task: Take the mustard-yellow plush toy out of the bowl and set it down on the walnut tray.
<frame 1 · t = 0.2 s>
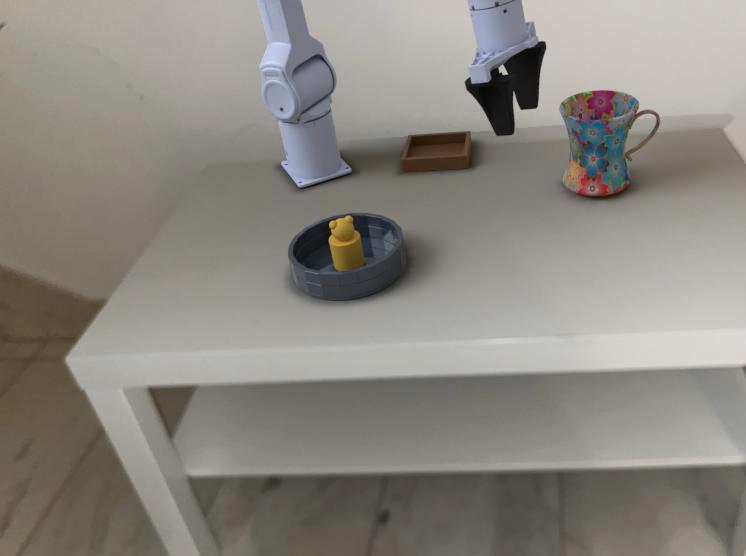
hand: (517, 121, 91), 11 cm above the table, tool pointing down, fingers open, 7 cm apart
bowl: (350, 267, 90), on the table
toy: (349, 263, 89), resting on bowl
mug: (607, 185, 98), on the table
tray: (437, 157, 110), on the table
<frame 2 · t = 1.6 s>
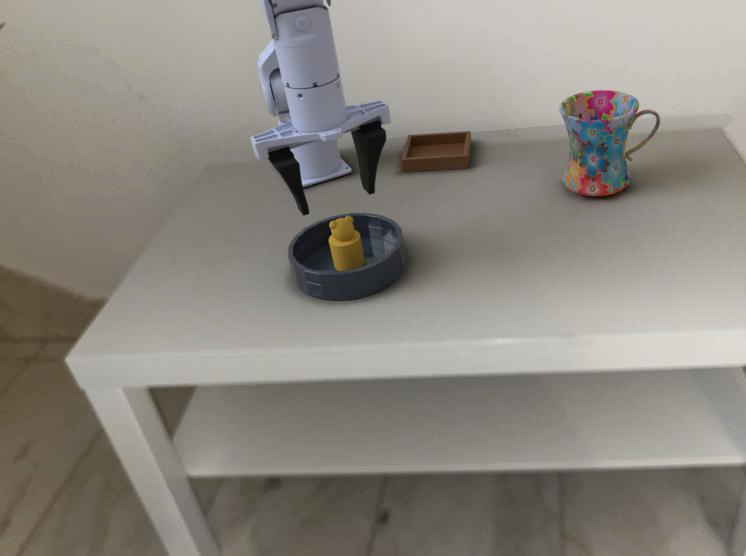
hand: (336, 200, 84), 9 cm above the table, tool pointing down, fingers open, 7 cm apart
nothing on the table moved.
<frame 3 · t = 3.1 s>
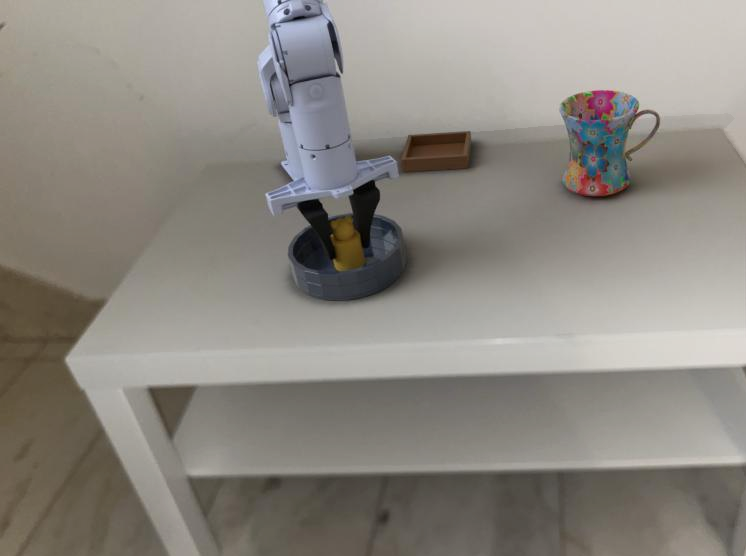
hand: (346, 250, 88), 2 cm above the table, tool pointing down, fingers closed on toy, 3 cm apart
toy: (350, 263, 89), point 1 cm above the table, touching gripper, bowl
everything else where it was.
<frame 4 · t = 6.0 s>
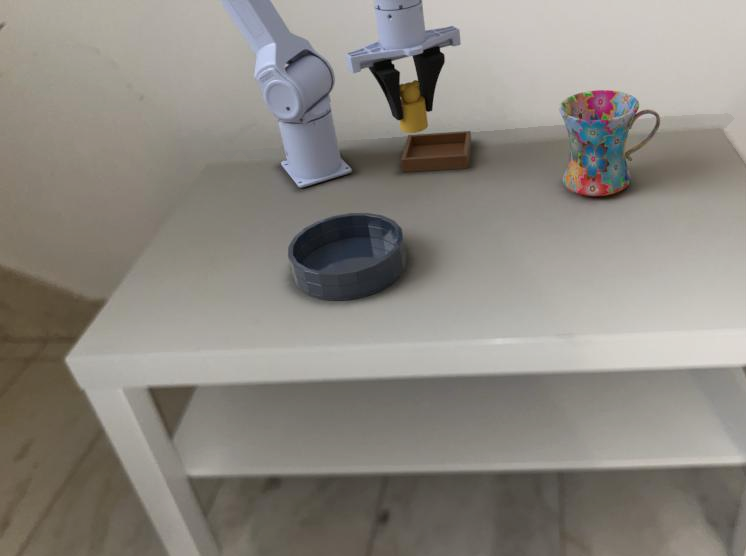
hand: (412, 113, 99), 9 cm above the table, tool pointing down, fingers closed on toy, 3 cm apart
toy: (414, 127, 100), point 8 cm above the table, touching gripper
everything else where it was.
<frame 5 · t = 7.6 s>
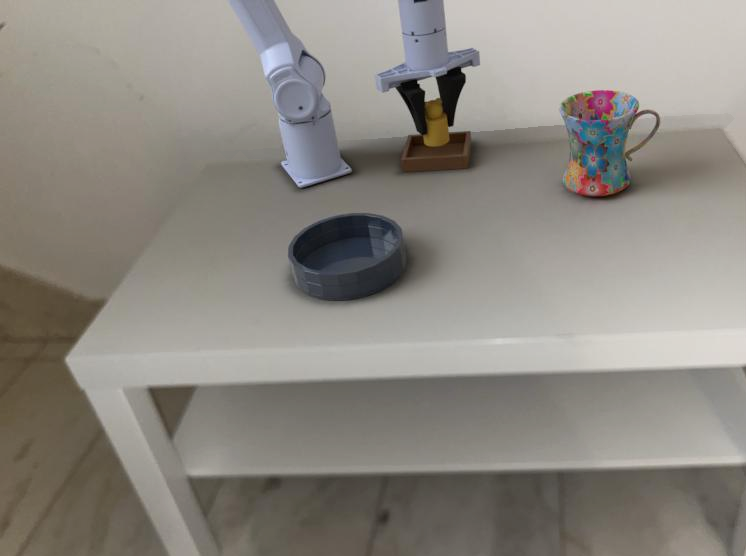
hand: (434, 128, 107), 4 cm above the table, tool pointing down, fingers closed on toy, 3 cm apart
toy: (436, 141, 108), point 2 cm above the table, touching gripper
everything else where it was.
when the fingers open (2 cm above the table, at t = 8.7 s): toy stays where it is, resting on tray.
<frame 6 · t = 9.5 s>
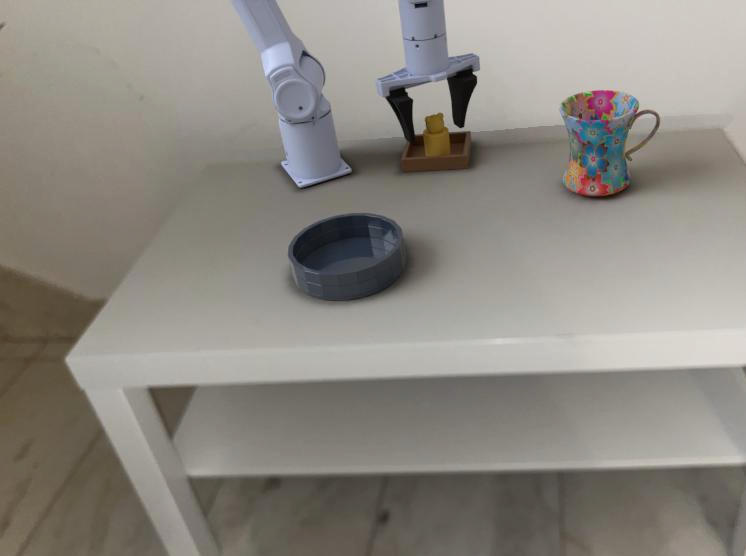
hand: (434, 132, 108), 4 cm above the table, tool pointing down, fingers open, 7 cm apart
toy: (438, 154, 110), resting on tray
everything else where it was.
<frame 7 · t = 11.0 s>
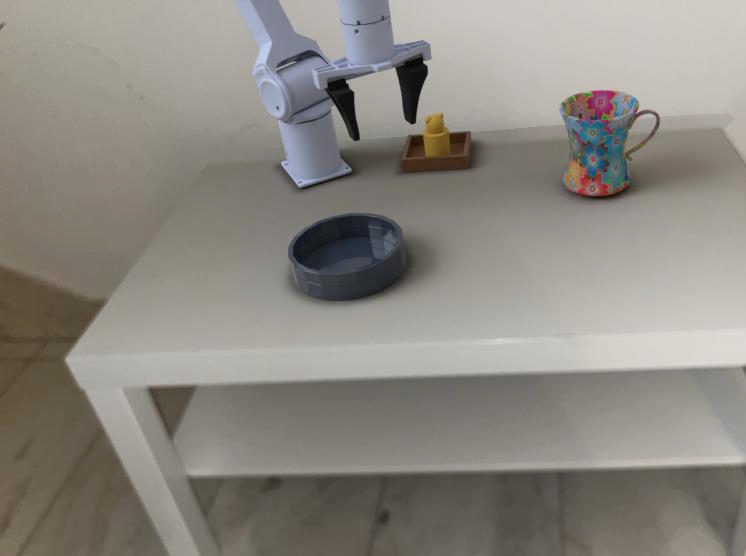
hand: (382, 129, 96), 9 cm above the table, tool pointing down, fingers open, 7 cm apart
nothing on the table moved.
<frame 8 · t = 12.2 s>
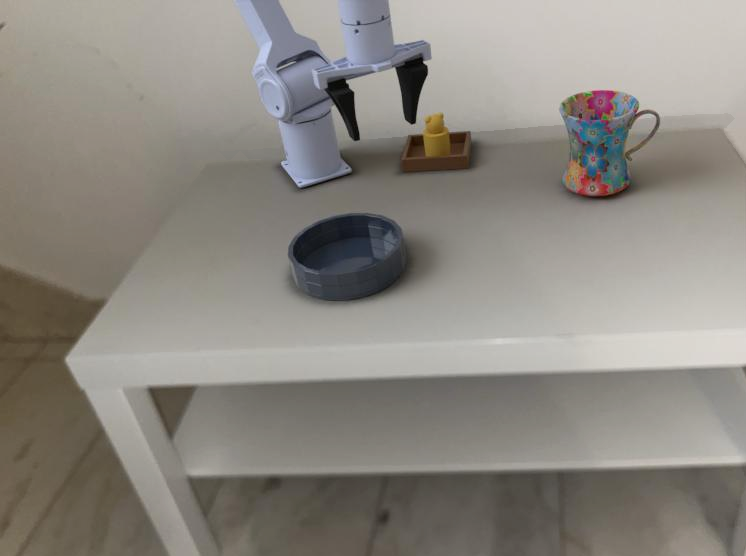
hand: (382, 129, 96), 9 cm above the table, tool pointing down, fingers open, 7 cm apart
nothing on the table moved.
at the end: toy inside the target area in the tray (0.1 cm from its centre), point 0.4 cm above the tray's base; toy tilted 0°; the gripper is holding nothing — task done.
